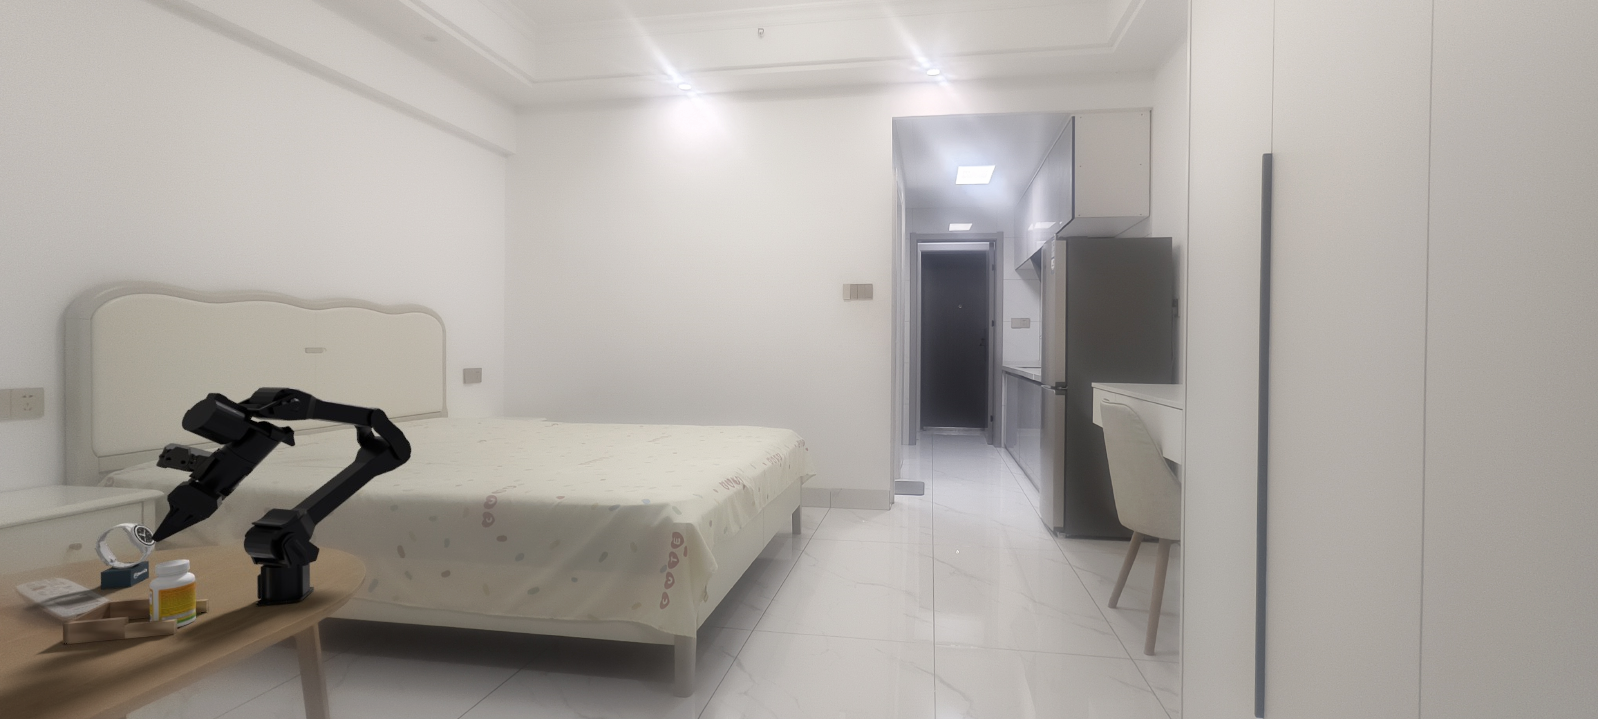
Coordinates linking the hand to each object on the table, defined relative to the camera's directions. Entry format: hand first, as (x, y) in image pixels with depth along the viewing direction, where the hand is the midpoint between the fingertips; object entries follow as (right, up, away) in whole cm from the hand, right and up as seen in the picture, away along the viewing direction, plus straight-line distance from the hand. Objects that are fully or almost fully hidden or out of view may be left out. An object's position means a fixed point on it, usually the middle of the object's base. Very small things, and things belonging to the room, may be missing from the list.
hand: (162, 532), depth 109 cm
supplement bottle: (+2, -15, -1) cm, 15 cm away
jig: (-1, -14, -1) cm, 14 cm away
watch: (-24, -14, +18) cm, 33 cm away
